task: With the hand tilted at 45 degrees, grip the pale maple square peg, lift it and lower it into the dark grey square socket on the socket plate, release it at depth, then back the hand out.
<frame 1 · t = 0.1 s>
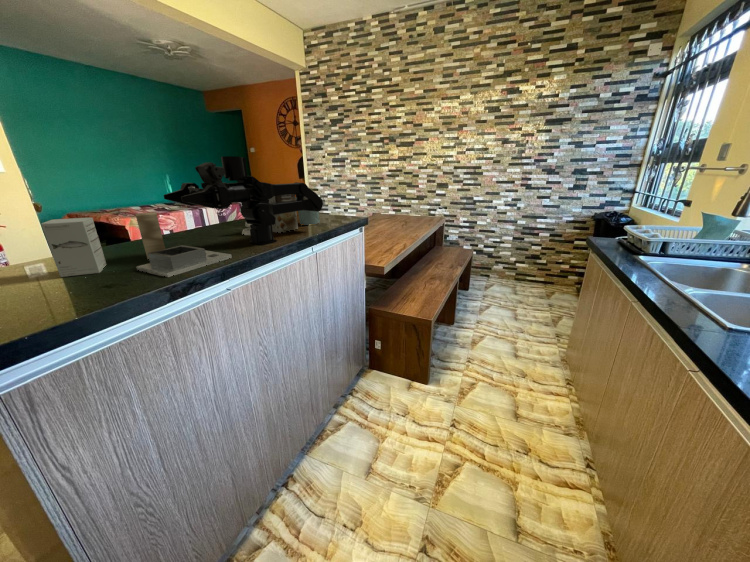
hand: (172, 197, 79), 17 cm above the counter, tool horizontal, fingers open, 9 cm apart
socket plate: (180, 265, 79), on the counter
coffee box: (284, 231, 123), on the counter
hook: (252, 233, 119), on the counter
grey tapered cup: (309, 224, 137), on the counter
supplement box: (85, 272, 75), on the counter
square peg: (157, 256, 88), on the counter
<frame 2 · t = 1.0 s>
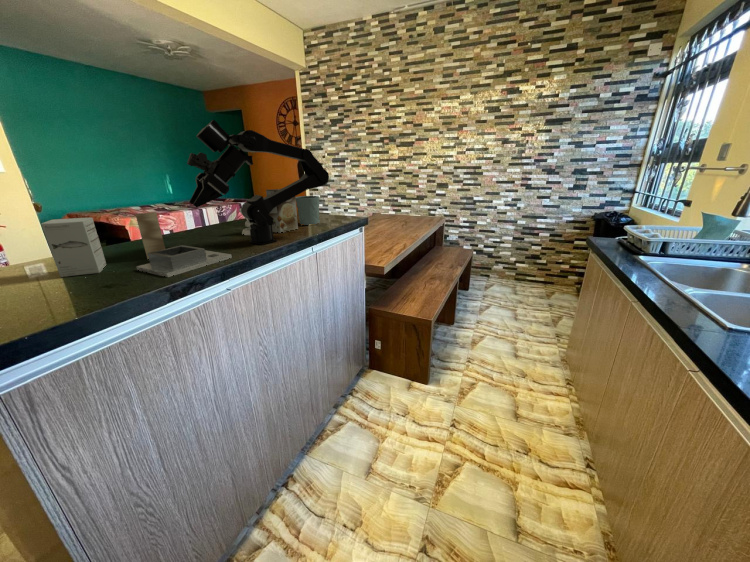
hand: (192, 204, 89), 14 cm above the counter, tool tilted 45°, fingers open, 9 cm apart
nothing on the counter moved.
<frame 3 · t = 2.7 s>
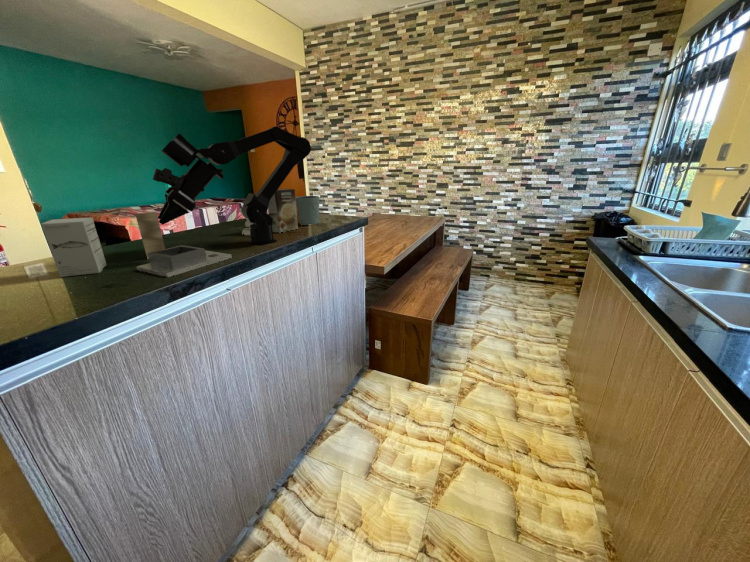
hand: (159, 221, 86), 10 cm above the counter, tool tilted 45°, fingers open, 9 cm apart
nothing on the counter moved.
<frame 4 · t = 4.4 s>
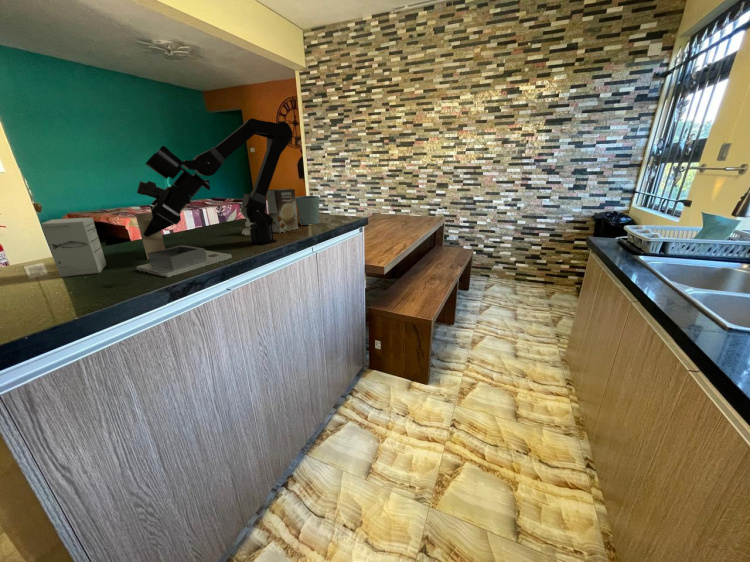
hand: (145, 234, 85), 7 cm above the counter, tool tilted 45°, fingers closed on square peg, 5 cm apart
square peg: (157, 256, 88), on the counter, touching gripper
everything else where it was.
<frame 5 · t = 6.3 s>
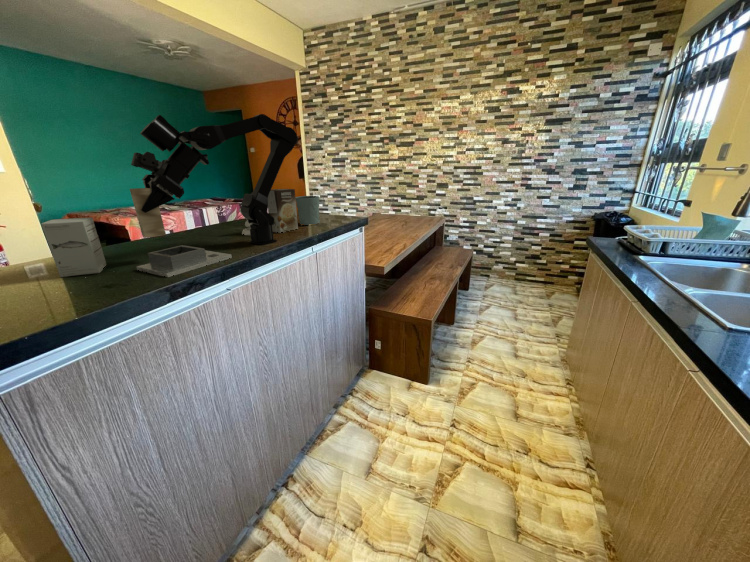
hand: (141, 210, 79), 13 cm above the counter, tool tilted 45°, fingers closed on square peg, 5 cm apart
square peg: (154, 235, 82), point 7 cm above the counter, touching gripper
everything else where it was.
when the fingers open (9 cm above the counter, at t = 8.6 s): square peg drops 1 cm, resting on socket plate.
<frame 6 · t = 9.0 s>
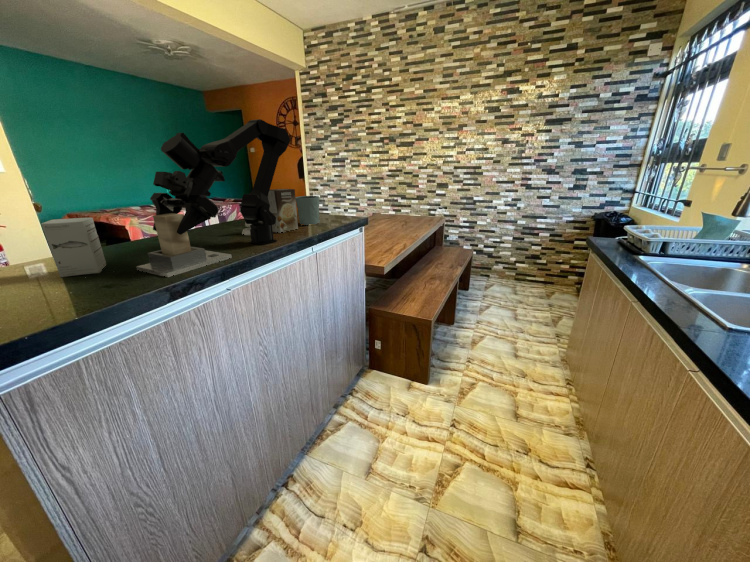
hand: (166, 232, 75), 9 cm above the counter, tool tilted 45°, fingers open, 9 cm apart
square peg: (179, 262, 79), point 1 cm above the counter, touching socket plate
everything else where it was.
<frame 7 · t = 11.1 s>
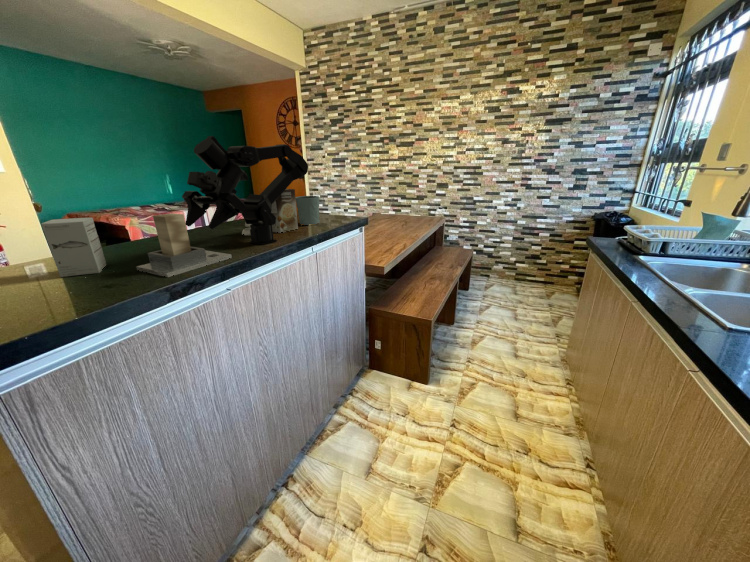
hand: (198, 226, 82), 9 cm above the counter, tool tilted 45°, fingers open, 9 cm apart
nothing on the counter moved.
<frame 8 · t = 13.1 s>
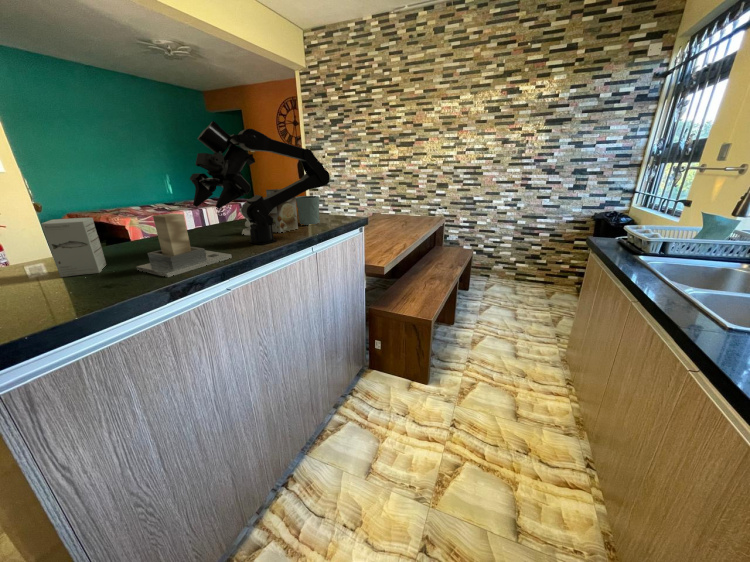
hand: (205, 206, 86), 14 cm above the counter, tool tilted 45°, fingers open, 9 cm apart
nothing on the counter moved.
at the end: square peg 0.0 cm off-centre on the socket plate, point 1.0 cm above the socket plate's base; square peg tilted 0°; the gripper is holding nothing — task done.
